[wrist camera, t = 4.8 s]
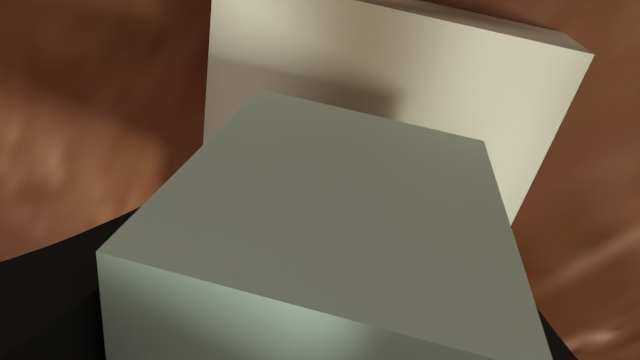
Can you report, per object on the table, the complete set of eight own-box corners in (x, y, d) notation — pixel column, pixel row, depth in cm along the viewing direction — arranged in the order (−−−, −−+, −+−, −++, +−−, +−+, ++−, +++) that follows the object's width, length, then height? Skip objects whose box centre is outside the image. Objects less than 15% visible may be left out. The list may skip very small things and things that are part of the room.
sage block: (483, 141, 10) (557, 375, 5) (418, 307, 12) (420, 582, 7) (259, 88, 10) (95, 251, 5) (241, 260, 13) (118, 488, 7)
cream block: (559, 29, 13) (594, 55, 10) (453, 269, 17) (460, 328, 15) (252, -40, 14) (213, -33, 11) (227, 209, 18) (195, 256, 15)
